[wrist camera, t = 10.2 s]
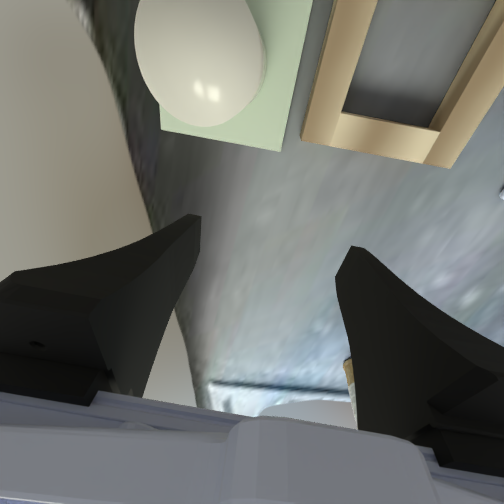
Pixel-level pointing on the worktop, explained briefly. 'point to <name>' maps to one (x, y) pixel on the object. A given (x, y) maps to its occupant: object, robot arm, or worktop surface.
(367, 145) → the collar
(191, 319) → the worktop surface
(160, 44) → the jug
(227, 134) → the sage board
